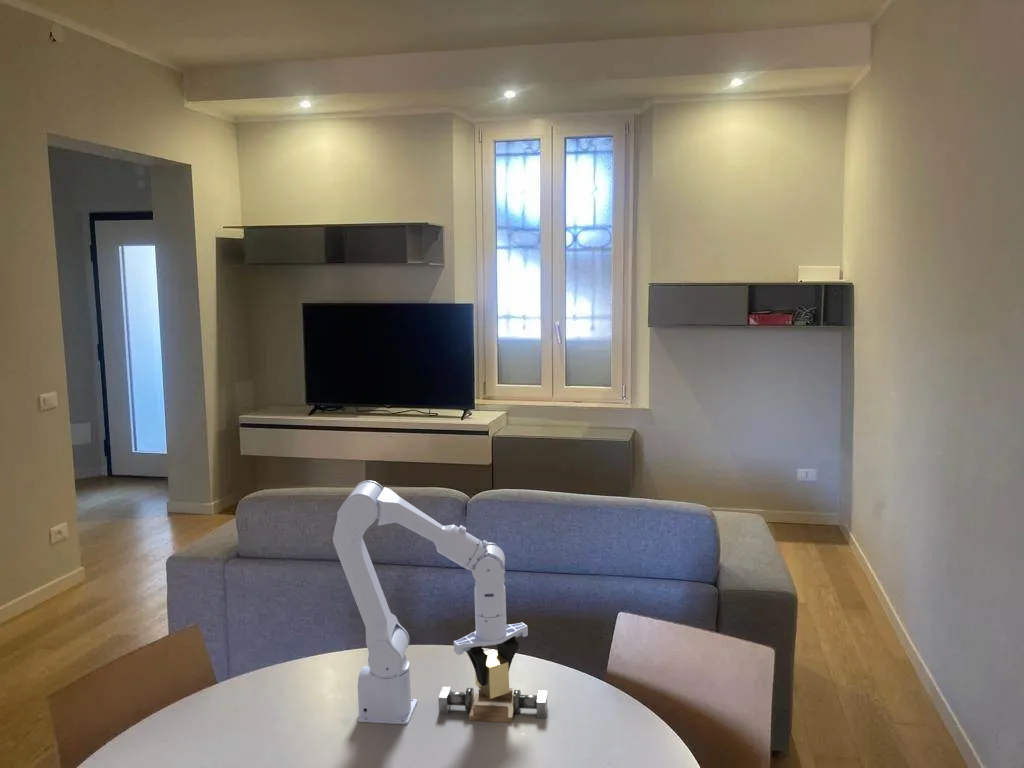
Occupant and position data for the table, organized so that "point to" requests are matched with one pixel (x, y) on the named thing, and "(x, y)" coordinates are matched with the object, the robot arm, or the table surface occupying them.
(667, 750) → the table surface
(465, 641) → the robot arm
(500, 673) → the block
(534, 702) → the shaft stand
